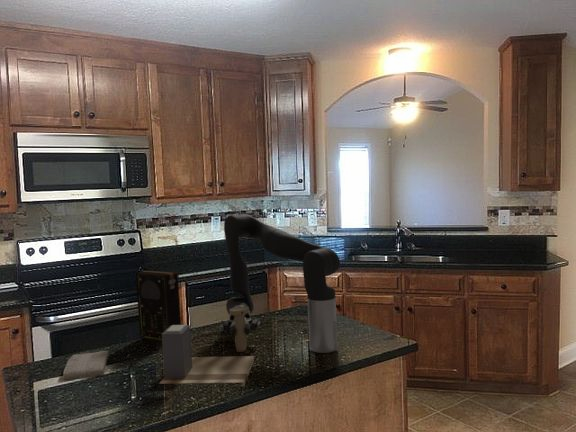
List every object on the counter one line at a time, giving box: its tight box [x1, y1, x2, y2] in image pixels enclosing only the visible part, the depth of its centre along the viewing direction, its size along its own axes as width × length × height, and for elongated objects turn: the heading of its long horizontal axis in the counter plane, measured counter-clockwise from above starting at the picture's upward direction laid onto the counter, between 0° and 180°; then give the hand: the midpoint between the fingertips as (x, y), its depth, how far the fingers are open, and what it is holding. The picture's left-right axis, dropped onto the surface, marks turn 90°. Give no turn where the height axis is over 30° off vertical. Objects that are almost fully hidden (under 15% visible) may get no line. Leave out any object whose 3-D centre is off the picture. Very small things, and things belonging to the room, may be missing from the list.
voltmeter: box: [135, 270, 182, 343], centre depth 180 cm, size 16×9×25 cm, turn 60°
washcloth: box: [62, 350, 109, 381], centre depth 155 cm, size 12×18×3 cm, turn 16°
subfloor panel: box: [158, 355, 255, 387], centre depth 146 cm, size 24×20×1 cm
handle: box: [229, 306, 249, 353], centre depth 161 cm, size 5×6×15 cm
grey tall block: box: [161, 324, 193, 378], centre depth 144 cm, size 6×8×14 cm
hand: (240, 332), depth 158 cm, fingers closed on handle, 3 cm apart
